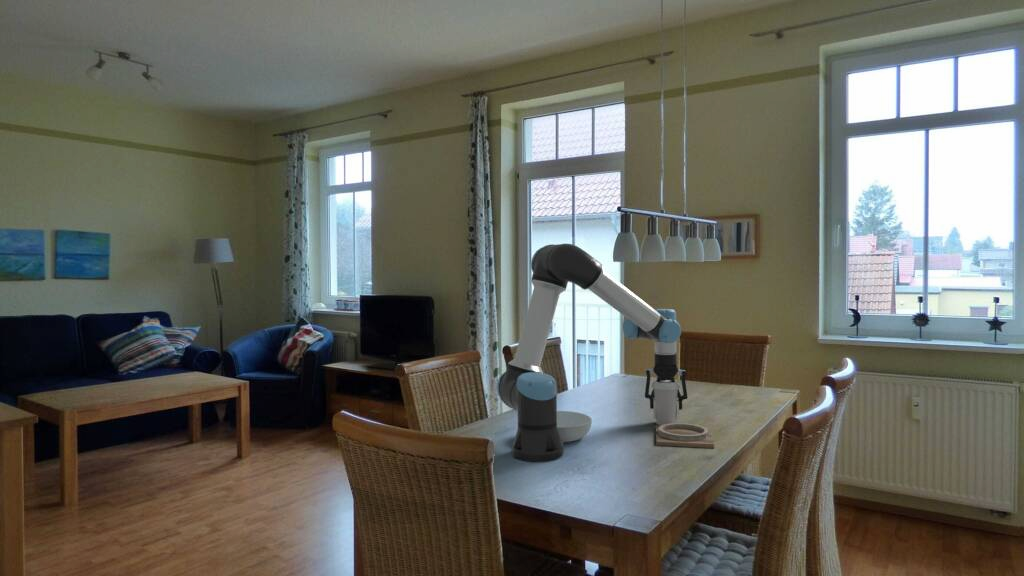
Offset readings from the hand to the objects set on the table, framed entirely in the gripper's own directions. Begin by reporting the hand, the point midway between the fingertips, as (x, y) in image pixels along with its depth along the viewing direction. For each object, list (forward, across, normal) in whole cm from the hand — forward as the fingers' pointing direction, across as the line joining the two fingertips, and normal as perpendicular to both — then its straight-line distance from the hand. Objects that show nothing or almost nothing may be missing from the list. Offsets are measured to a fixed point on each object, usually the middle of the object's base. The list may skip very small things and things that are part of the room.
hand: (666, 418), depth 212 cm
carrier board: (+2, -5, +17) cm, 18 cm away
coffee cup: (+2, 0, 0) cm, 2 cm away
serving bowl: (+2, +34, +25) cm, 42 cm away
